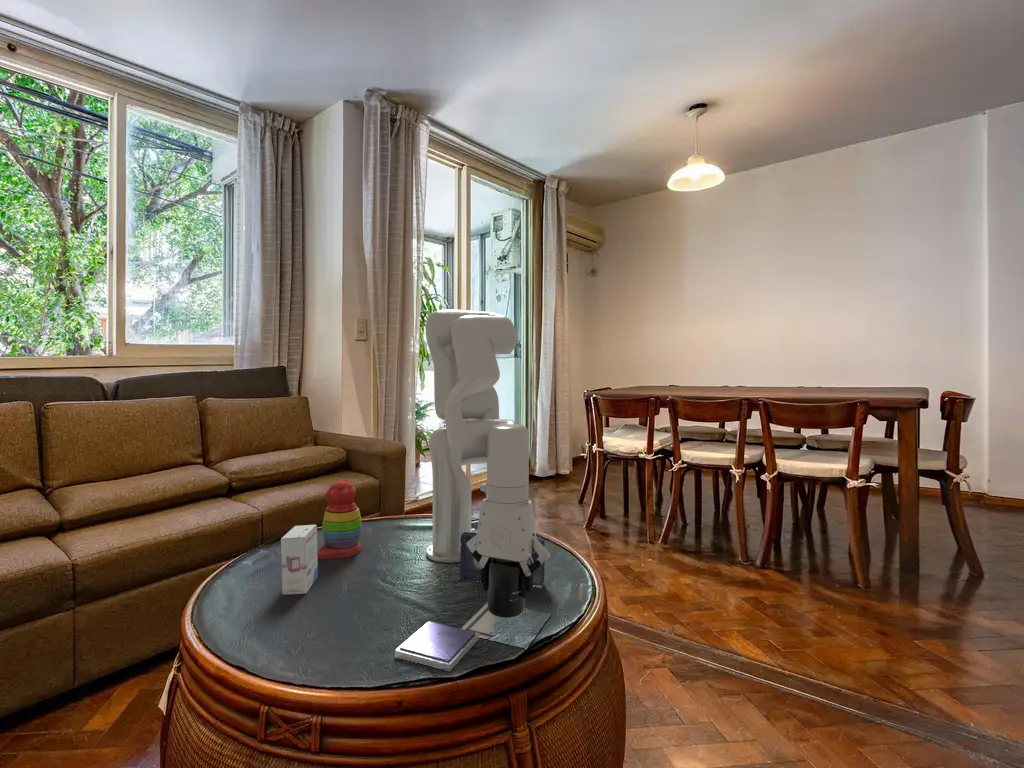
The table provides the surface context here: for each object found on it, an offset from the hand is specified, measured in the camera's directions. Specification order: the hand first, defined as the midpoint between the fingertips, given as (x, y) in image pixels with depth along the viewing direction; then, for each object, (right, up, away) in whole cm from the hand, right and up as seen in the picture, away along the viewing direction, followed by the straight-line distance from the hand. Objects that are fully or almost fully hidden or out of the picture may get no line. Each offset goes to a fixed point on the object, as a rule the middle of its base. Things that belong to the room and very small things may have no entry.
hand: (506, 590), depth 92 cm
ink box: (-44, -5, +15) cm, 47 cm away
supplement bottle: (0, -4, 0) cm, 4 cm away
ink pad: (-11, -6, -8) cm, 15 cm away
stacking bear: (-42, -5, +35) cm, 55 cm away
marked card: (0, -6, 0) cm, 6 cm away
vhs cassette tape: (-1, -6, +18) cm, 19 cm away
